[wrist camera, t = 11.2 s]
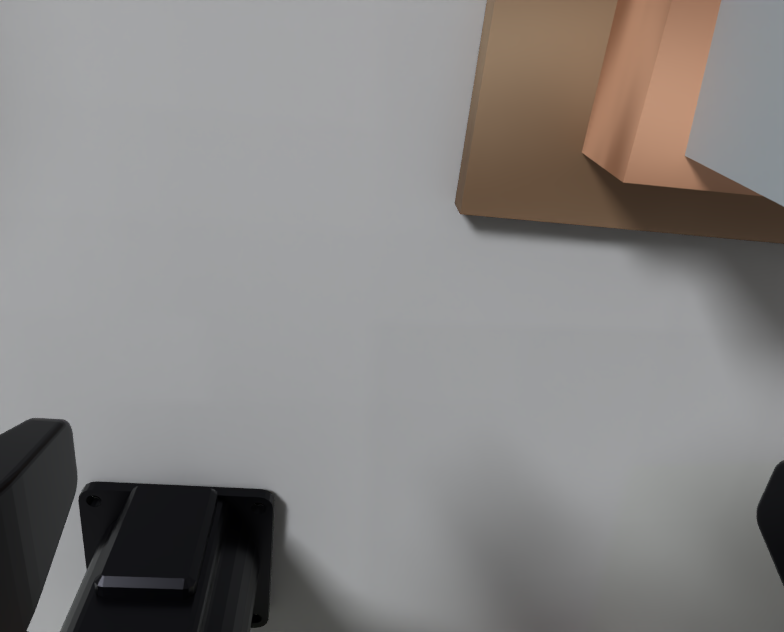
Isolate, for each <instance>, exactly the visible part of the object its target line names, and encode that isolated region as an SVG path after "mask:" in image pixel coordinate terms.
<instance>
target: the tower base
mask: <svg viewBox="0 0 784 632" xmlns="http://www.w3.org/2000/svg"><path fill="white" fill-rule="evenodd" d="M720 4H721V0H487V4H486V10H485V17H484V23H483V29H482V35H481V42H480V48H479V54H478V61H477V67H476V73H475V80H474V86H473V92H472V98H471V105H470V111H469V117H468V124H467V130H466V136H465V143H464V149H463V155H462V161H461V168H460V174H459V180H458V187H457V193H456V199H455V205H456V207H457V209H458V211H459V213H460V214H464V215H475V216H486V217H497V218H508V219H519V220H530V221H541V222H552V223H563V224H574V225H585V226H596V227H607V228H618V229H629V230H640V231H651V232H662V233H673V234H684V235H694V236H705V237H716V238H727V239H738V240H749V241H760V242H771V243H782V244H784V206H782V205H780V204H778V203H776V202H774V201H772V200H770V199H768V198H766V197H764V196H762V195H760V194H758V193H756V192H754V191H753V190H751V189H749V188H747V187H745V186H743V185H741V184H739V183H737V182H735V181H733V180H731V179H729V178H727V177H725V176H723V175H721V174H719V173H718V172H716V171H714V170H712V169H710V168H708V167H706V166H704V165H702V164H700V163H698V162H696V161H694V160H692V159H690V158H688V157H686V156H685V152H686V148H687V144H688V140H689V135H690V131H691V127H692V123H693V118H694V114H695V110H696V106H697V101H698V97H699V93H700V89H701V84H702V80H703V76H704V72H705V67H706V63H707V59H708V55H709V50H710V46H711V42H712V38H713V33H714V29H715V25H716V21H717V16H718V12H719V8H720Z"/></svg>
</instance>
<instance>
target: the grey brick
mask: <svg viewBox="0 0 784 632" xmlns="http://www.w3.org/2000/svg"><path fill="white" fill-rule="evenodd" d="M685 156H686V157H688V158H690V159H692V160H694V161H696V162H698V163H700V164H702V165H704V166H706V167H708V168H710V169H712V170H714V171H716V172H718V173H719V174H721V175H723V176H725V177H727V178H729V179H731V180H733V181H735V182H737V183H739V184H741V185H743V186H745V187H747V188H749V189H751V190H753V191H754V192H756V193H758V194H760V195H762V196H764V197H766V198H768V199H770V200H772V201H774V202H776V203H778V204H780V205H782V206H784V0H721V4H720V8H719V12H718V16H717V21H716V25H715V29H714V33H713V38H712V42H711V46H710V50H709V55H708V59H707V63H706V67H705V72H704V76H703V80H702V84H701V89H700V93H699V97H698V101H697V106H696V110H695V114H694V118H693V123H692V127H691V131H690V135H689V140H688V144H687V148H686V152H685Z"/></svg>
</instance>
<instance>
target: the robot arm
mask: <svg viewBox="0 0 784 632" xmlns="http://www.w3.org/2000/svg"><path fill="white" fill-rule="evenodd" d="M76 488H77V467H76V459H75V450H74V442H73V433H72V429H71V426H70V424H69V423H68V422H67V421H66V420H63V419H47V418H32V419H29V420H27V421H24V422H23V423H21V424H19V425H17V426H15V427H13V428H12V429H10V430H8V431H6V432H4V433H3V434H1V435H0V632H27V631H26V630H27V628H28V626H29V624H30V621H31V619H32V617H33V614H34V612H35V609H36V607H37V604H38V601H39V598H40V596H41V593H42V590H43V587H44V584H45V581H46V578H47V575H48V572H49V569H50V567H51V564H52V561H53V558H54V555H55V552H56V549H57V546H58V543H59V540H60V537H61V534H62V531H63V528H64V525H65V522H66V519H67V517H68V514H69V511H70V508H71V505H72V502H73V499H74V496H75V492H76ZM91 495H94V496H98V497H99V498H101V499H96V498H94V497H92V496H91ZM255 503H263V504H264V505H263V506H258V505H255ZM79 509H80V517H81V526H82V534H83V543H84V551H85V559H86V568H87V572H86V574H85V576H84V578H83V581H82V583H81V585H80V587H79V590H78V592H77V594H76V597H75V599H74V601H73V603H72V606H71V608H70V610H69V612H68V615H67V617H66V619H65V622H64V624H63V626H62V628H61V631H60V632H250V628H257V627H261V626H264V625H265V624H266V623H267V621H268V617H269V607H270V585H271V564H272V542H273V521H274V497H273V495H272V494H271V493H270V492H268V491H266V490H262V489H244V488H223V487H201V486H179V485H158V484H136V483H114V482H90V483H88V484H86V485H85V487H84V488H83V490H82V492H81V494H80V496H79ZM757 522H758V526H759V529H760V531H761V533H762V536H763V538H764V540H765V543H766V545H767V548H768V550H769V552H770V555H771V557H772V559H773V562H774V564H775V567H776V569H777V571H778V574H779V576H780V578H781V581H782V583H783V586H784V460H783V461H781V462H780V463H779V464H778V465H776V467H775V469H774V471H773V473H772V475H771V478H770V480H769V482H768V484H767V486H766V489H765V491H764V493H763V495H762V497H761V500H760V502H759V504H758V507H757ZM256 614H257V615H256Z"/></svg>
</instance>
